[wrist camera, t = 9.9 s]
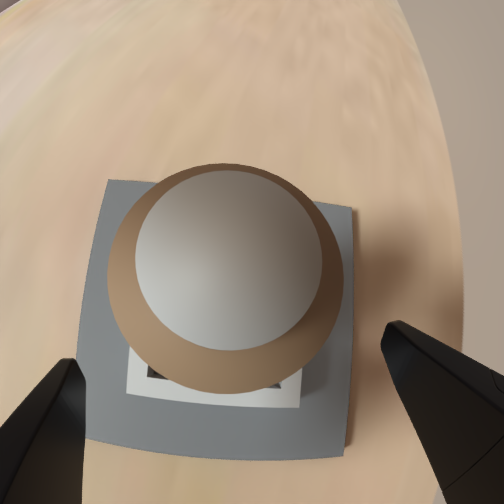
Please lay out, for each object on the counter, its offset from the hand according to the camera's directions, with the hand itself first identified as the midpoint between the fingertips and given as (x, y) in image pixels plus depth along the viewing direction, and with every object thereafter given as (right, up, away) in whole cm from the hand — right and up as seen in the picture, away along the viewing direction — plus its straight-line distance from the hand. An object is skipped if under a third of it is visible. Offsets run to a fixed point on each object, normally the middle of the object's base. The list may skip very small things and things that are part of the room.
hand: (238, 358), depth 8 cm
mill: (-2, -1, +9) cm, 9 cm away
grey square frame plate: (-2, -1, +10) cm, 10 cm away
